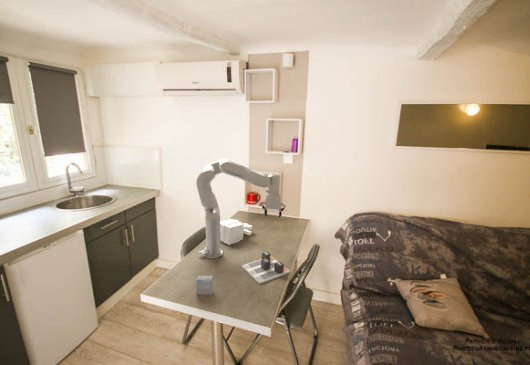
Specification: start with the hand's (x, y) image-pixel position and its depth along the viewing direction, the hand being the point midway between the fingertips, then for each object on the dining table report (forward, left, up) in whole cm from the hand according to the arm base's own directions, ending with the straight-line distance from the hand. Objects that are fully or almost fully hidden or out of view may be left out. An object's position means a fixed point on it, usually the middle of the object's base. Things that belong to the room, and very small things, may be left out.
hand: (272, 216), depth 173 cm
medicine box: (-57, -20, -26) cm, 66 cm away
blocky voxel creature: (-13, +30, -26) cm, 42 cm away
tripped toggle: (-18, -19, -24) cm, 36 cm away
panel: (-18, -19, -25) cm, 36 cm away
